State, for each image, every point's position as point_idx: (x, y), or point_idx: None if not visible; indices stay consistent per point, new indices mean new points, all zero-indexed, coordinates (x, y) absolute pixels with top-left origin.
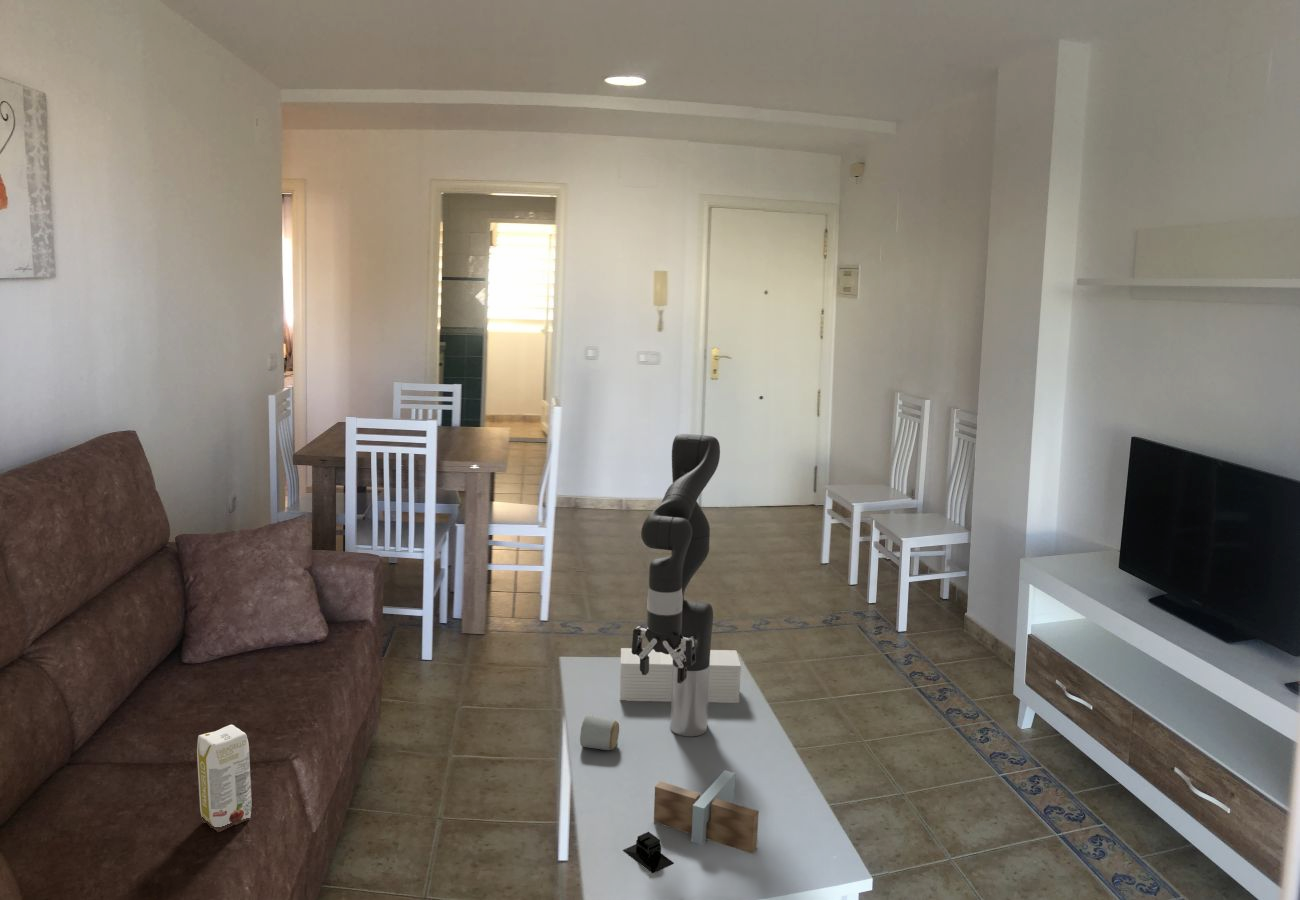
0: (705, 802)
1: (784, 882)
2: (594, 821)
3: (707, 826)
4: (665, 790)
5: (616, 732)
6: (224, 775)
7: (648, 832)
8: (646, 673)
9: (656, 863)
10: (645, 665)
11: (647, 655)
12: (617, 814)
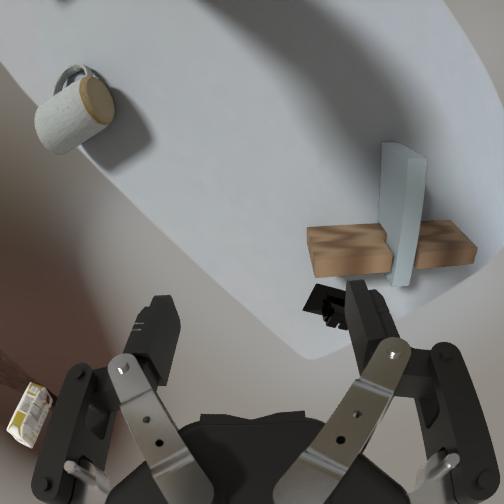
0: (407, 271)
1: (480, 260)
2: (234, 284)
3: None
4: (335, 275)
5: (96, 93)
6: (39, 428)
7: (335, 314)
8: (175, 312)
9: None
10: (170, 356)
11: (146, 371)
12: (249, 255)
